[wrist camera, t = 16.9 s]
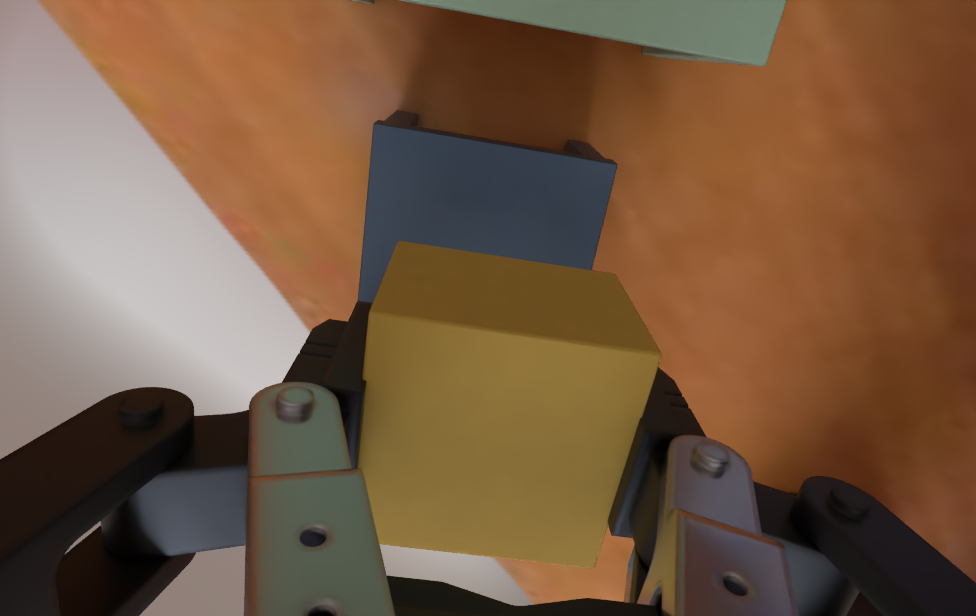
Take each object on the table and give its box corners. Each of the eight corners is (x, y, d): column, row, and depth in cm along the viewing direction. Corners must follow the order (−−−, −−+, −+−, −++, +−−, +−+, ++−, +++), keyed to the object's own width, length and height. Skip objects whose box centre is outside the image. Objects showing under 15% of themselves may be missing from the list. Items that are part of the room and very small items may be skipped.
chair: (547, 335, 32) (597, 555, 18) (373, 310, 31) (291, 520, 17) (591, 141, 28) (699, 234, 14) (394, 107, 27) (308, 171, 13)
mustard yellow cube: (568, 450, 15) (595, 570, 11) (376, 425, 14) (346, 542, 11) (616, 273, 13) (663, 353, 9) (397, 239, 12) (368, 311, 9)
